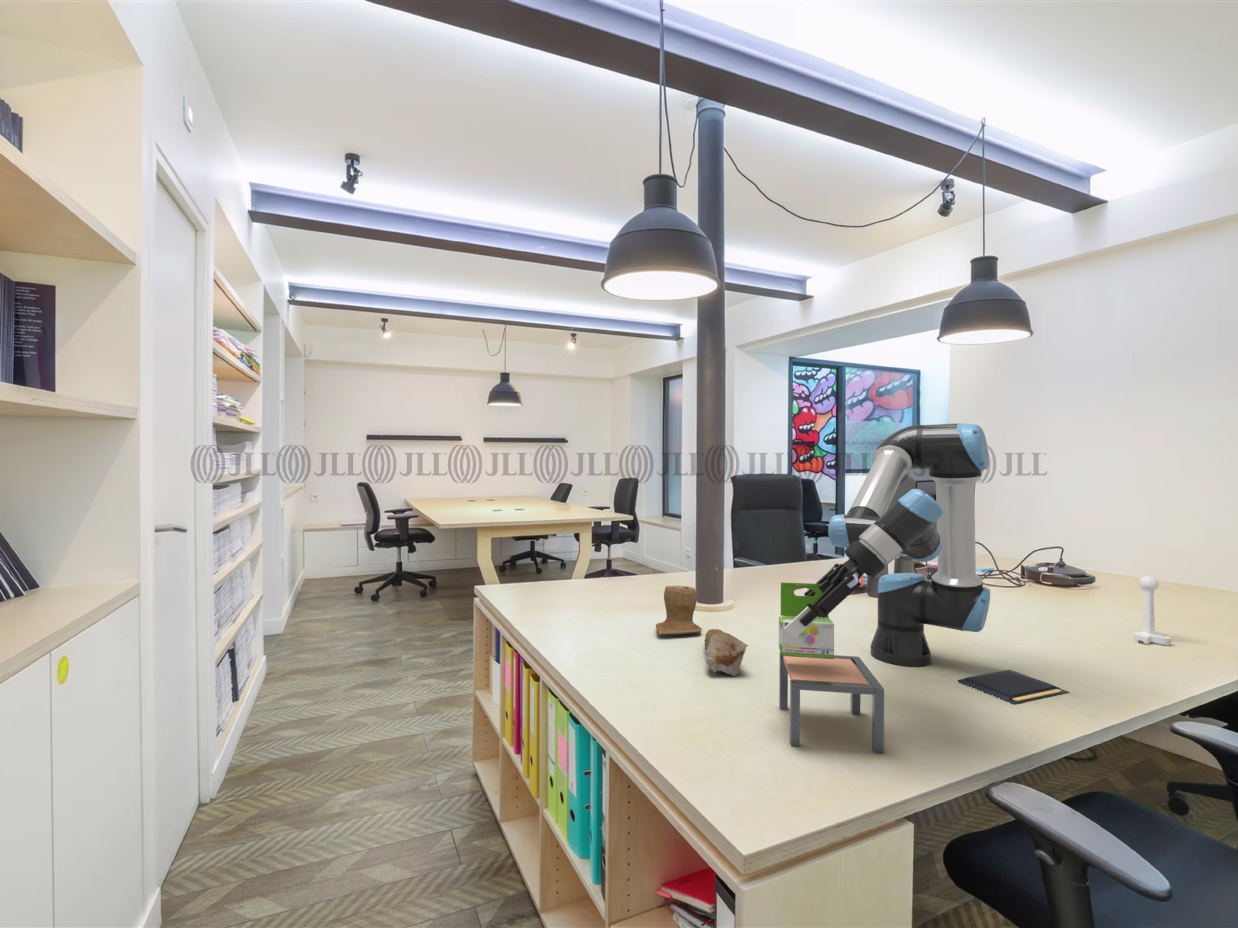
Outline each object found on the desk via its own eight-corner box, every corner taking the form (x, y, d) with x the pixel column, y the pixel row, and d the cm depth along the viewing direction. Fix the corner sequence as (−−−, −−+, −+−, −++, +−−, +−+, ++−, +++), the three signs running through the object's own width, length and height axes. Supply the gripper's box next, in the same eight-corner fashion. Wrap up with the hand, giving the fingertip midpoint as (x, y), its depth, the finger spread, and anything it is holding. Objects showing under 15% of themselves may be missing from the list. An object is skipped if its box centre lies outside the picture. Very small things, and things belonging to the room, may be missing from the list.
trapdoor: (850, 663, 122) (850, 658, 122) (868, 689, 109) (868, 683, 109) (783, 659, 125) (783, 655, 125) (792, 684, 111) (792, 679, 111)
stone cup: (692, 625, 188) (692, 580, 188) (705, 636, 177) (706, 588, 177) (648, 628, 185) (648, 582, 185) (659, 639, 173) (659, 590, 173)
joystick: (1149, 636, 180) (1150, 573, 180) (1180, 643, 173) (1181, 578, 173) (1128, 640, 176) (1129, 575, 176) (1159, 648, 169) (1160, 580, 169)
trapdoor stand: (858, 711, 124) (858, 656, 124) (883, 753, 106) (884, 688, 106) (779, 705, 127) (779, 651, 127) (790, 745, 109) (791, 682, 109)
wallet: (1010, 666, 149) (1073, 688, 135) (1010, 673, 149) (1073, 696, 135) (953, 675, 142) (1013, 699, 128) (952, 682, 142) (1012, 707, 128)
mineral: (695, 615, 170) (728, 621, 170) (690, 646, 169) (723, 652, 169) (712, 636, 143) (751, 643, 143) (706, 673, 143) (745, 680, 143)
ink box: (781, 656, 115) (781, 587, 115) (778, 647, 121) (778, 581, 120) (834, 659, 114) (835, 589, 114) (829, 650, 119) (829, 583, 119)
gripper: (900, 574, 106) (807, 657, 108) (872, 558, 124) (793, 630, 126) (870, 544, 106) (779, 628, 109) (847, 533, 124) (769, 605, 127)
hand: (787, 629), depth 118 cm, fingers closed on ink box, 5 cm apart
